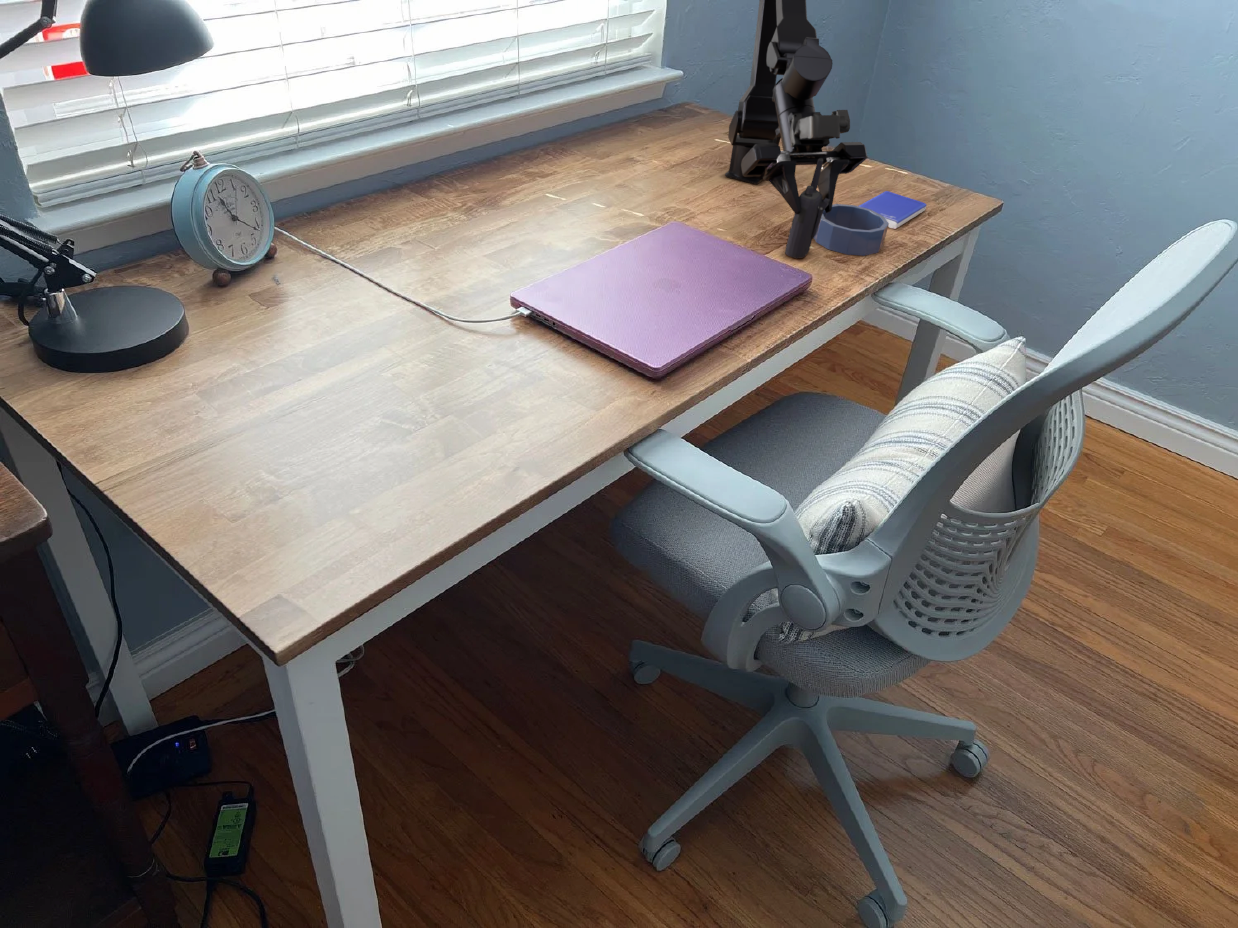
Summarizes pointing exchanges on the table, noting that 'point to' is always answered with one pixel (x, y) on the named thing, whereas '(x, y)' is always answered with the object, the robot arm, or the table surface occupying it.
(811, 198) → the two-way radio
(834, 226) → the blue faceted hollow ring
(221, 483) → the table surface
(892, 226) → the blue book
